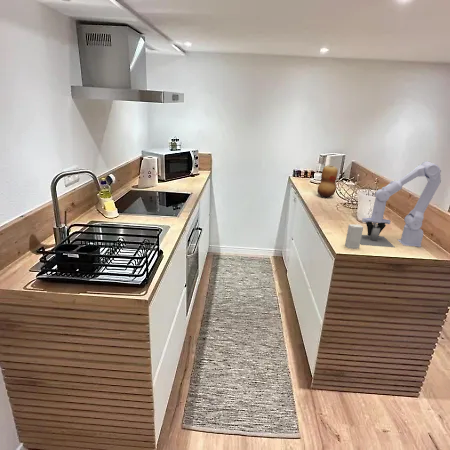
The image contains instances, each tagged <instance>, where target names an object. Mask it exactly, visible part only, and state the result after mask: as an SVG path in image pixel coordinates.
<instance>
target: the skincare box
mask: <svg viewBox="0 0 450 450" xmlns="http://www.w3.org/2000/svg"><path fill="white" fill-rule="evenodd" d="M347 226H348V227H347V233H346V238H345V242H344V243H345V244H344V246H345V247H346V248H347V249H353V250H356V249H360V247H361V244H360V241H361V237H362V235H363V230H364V226H362V225H361V224H353V223H352V224H348V225H347Z"/></svg>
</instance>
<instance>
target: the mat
mask: <svg viewBox="0 0 450 450" xmlns="http://www.w3.org/2000/svg"><path fill="white" fill-rule="evenodd" d="M367 235H368V234H362V237H361V241H360V246H370V247H371V246H372V247H384V248H396V247H395V245H394V244H392V242H390V241H389V240H388V239H387V238H386V237H385V236H382V235H379V237H378V241H372V240H370V239H369V238H368V237H367Z"/></svg>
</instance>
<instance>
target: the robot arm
mask: <svg viewBox="0 0 450 450" xmlns="http://www.w3.org/2000/svg"><path fill="white" fill-rule="evenodd" d="M441 173H442V170H441V168H440V166H439V165H438V164H436V163H433V162H431V161H427V160H426V161H424V162H422V163H421V164H418V165H417V166H416V167H415V168H414V169H412V170H410V171H409V172H408V173H407V174H405V175H404V176H402V177H400V179H399V180H398V179H397V180H396V179H394V180H390V181H389V183H388V184H387V185H386V186H382V187H381V189H380V188H379V189H377V190H376V191H375V193H374V197H375V199H374V203H373V208H372V212H371V216H370V217H362V218H361V219H362V220H361V222H362V223H365V224H366V229H367V235H369V236H370V235H371V230H372V227H373V224H374V223H376V224H377V226H378V227H379V228H380V233H379V235H380V234H381V233H382V231H383V230H384V229H385V228H386V226H387V225H390V224H391V220H390V219H386V218H384V214H385V210H386V204H387V201H389V199H390V197H391V196H393V195H394V194H397V192H399V191H401V190H402V189H403V186H404V185H406V184H408V183H409V182H411V181H413V180H415V179H416V178H419V177H425V179H426V180H427V183H426V184H425V187H424V188H423V190H422V192H421V194H420V196H419V198H418V199H417V202H416V204H415V205H414V207H413V209H411V210H410V211H409V213H408V214H407V215H406V216H405V217H404V223H405V224H404V226H403V229H402V234H401V238H400V239H397V241H398V242H399V243H400V244H401V245H402V246H406V247H407V246H409V247H417V248H421V247H422V243H423V242H422V241H423V237H424V231H423V229H422V227H423V220H424V219H425V218H424V217H425V216H424V214H425V212H426V210H427V208H428V206H429V205H430V203H431V201H432V199H433V197H434V195H435V193H436V192H437V190H438V188H439V186H440V184H441V181H442V180H441V179H442V178H441V176H442V175H441ZM386 224H387V225H386Z"/></svg>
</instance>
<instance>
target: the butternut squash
mask: <svg viewBox="0 0 450 450" xmlns="http://www.w3.org/2000/svg"><path fill="white" fill-rule="evenodd" d="M338 170H339V169H338V168H337V166H334V165H328V164H327V165H325V166H324V167H322V171H321V174H320V175H321V176H320V182H319V184H318V186H317V194H318V195H319V196H321V197H322V196H323V198H330V197H332V196H333V195H335V193H336V191H337V190H336V189H337V187H336V182H337V179H338V173H339V171H338Z"/></svg>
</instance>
